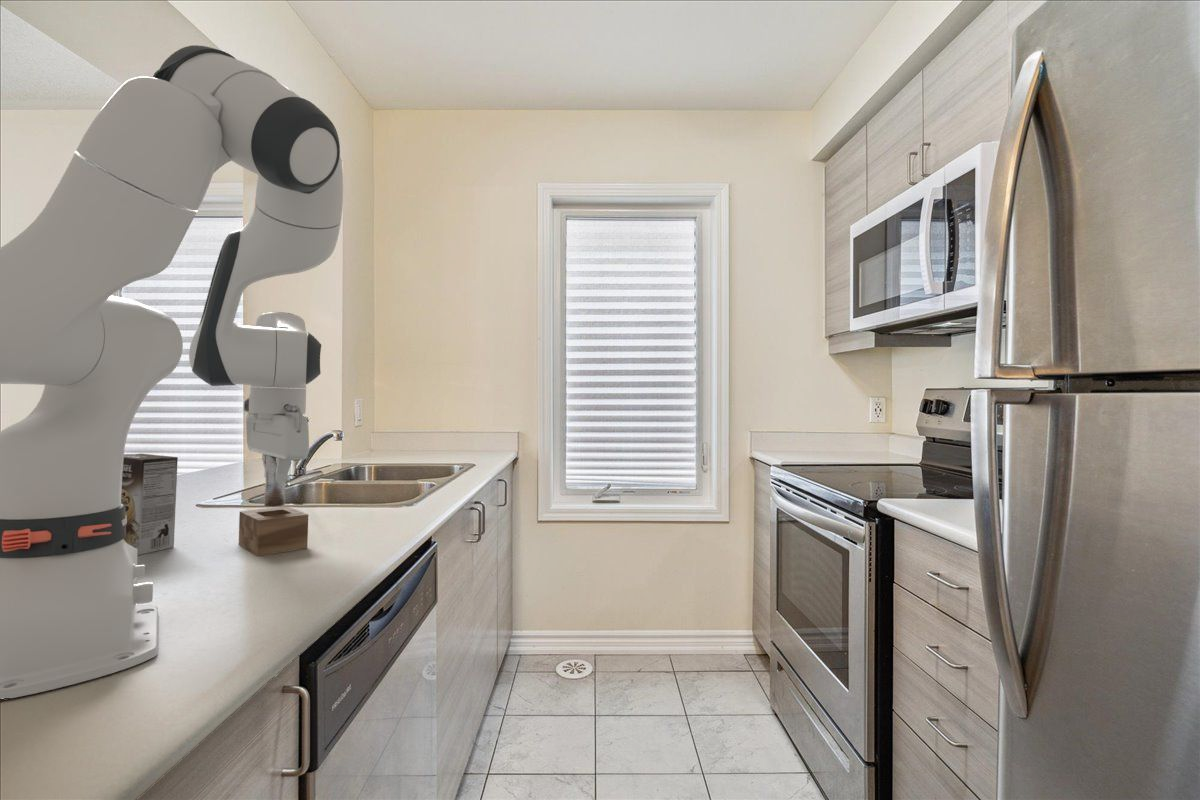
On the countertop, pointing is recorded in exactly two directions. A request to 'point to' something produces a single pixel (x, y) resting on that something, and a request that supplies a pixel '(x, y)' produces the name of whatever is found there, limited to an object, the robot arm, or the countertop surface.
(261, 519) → the walnut block
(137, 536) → the coffee box
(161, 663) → the countertop surface
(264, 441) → the robot arm
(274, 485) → the steel pin
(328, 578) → the countertop surface
